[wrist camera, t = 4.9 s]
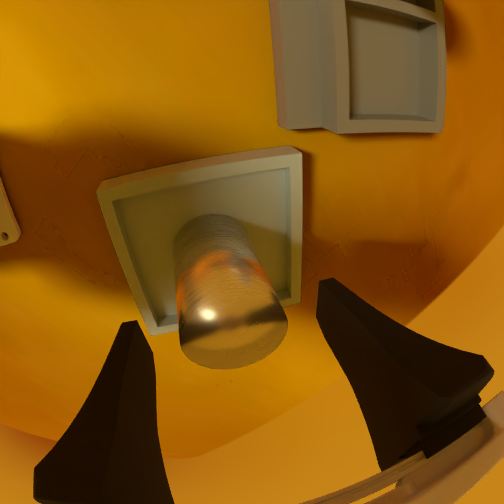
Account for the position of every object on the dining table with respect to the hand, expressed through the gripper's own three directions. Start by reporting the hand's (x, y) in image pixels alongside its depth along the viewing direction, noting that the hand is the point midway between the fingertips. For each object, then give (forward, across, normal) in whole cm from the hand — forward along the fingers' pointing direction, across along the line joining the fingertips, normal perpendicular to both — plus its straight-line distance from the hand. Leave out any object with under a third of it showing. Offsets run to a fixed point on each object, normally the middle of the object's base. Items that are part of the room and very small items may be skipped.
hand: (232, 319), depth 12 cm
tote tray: (+6, 0, 0) cm, 6 cm away
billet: (+5, 0, 0) cm, 5 cm away
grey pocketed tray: (+6, -9, -12) cm, 16 cm away
